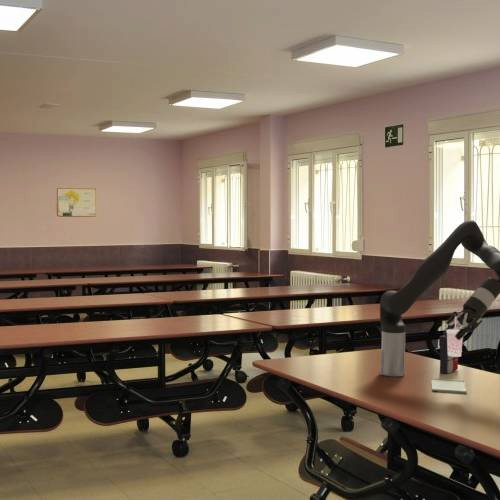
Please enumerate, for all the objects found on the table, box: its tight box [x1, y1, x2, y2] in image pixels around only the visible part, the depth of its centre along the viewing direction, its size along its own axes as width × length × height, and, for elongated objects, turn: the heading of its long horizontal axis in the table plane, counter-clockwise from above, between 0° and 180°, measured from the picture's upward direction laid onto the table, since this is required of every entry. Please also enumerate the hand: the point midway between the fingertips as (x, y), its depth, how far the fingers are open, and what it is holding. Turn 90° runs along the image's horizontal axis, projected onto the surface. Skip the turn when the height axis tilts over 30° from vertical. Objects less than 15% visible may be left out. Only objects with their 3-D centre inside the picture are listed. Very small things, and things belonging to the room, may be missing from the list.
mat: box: [431, 378, 467, 395], centre depth 270 cm, size 12×18×1 cm, turn 167°
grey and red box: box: [438, 334, 459, 375], centre depth 296 cm, size 11×4×15 cm, turn 143°
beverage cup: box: [445, 317, 464, 358], centre depth 259 cm, size 6×6×14 cm
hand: (451, 336), depth 259 cm, fingers closed on beverage cup, 6 cm apart
